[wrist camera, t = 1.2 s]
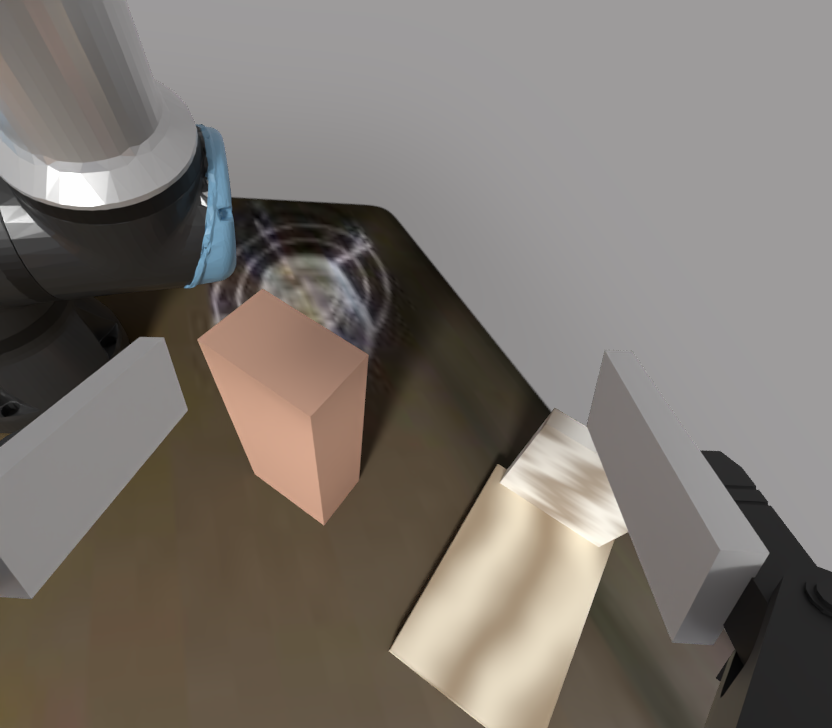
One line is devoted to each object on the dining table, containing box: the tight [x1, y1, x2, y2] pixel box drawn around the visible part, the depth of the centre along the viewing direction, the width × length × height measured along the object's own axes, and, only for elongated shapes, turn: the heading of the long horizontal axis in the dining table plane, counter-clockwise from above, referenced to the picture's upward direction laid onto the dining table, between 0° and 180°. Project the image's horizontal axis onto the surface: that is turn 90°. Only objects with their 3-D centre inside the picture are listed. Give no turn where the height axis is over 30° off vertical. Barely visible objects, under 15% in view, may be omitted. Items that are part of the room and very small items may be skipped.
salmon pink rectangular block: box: [197, 289, 368, 525], centre depth 34 cm, size 8×5×20 cm, turn 56°
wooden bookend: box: [389, 408, 628, 728], centre depth 33 cm, size 12×18×14 cm, turn 146°
